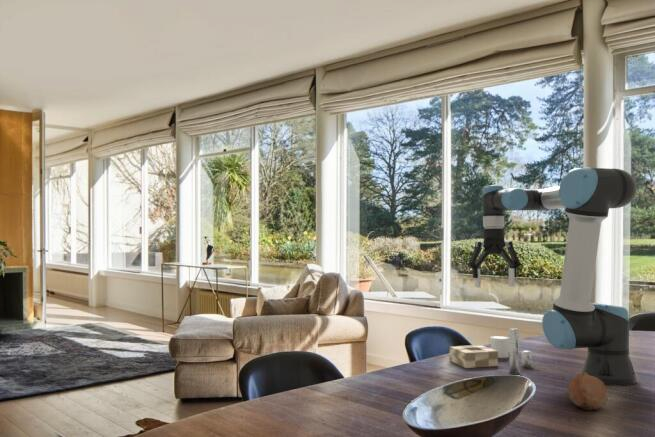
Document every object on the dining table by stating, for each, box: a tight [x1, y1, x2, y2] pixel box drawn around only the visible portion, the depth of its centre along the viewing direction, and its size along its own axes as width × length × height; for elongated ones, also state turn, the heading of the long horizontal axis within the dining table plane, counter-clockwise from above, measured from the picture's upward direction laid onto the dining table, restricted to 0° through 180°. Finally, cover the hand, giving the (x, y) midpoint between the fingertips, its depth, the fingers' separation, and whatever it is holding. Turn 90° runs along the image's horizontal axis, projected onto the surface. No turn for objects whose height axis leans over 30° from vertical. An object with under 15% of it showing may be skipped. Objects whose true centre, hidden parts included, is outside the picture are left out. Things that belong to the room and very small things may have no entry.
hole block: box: [449, 344, 499, 369], centre depth 214 cm, size 12×12×5 cm
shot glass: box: [489, 335, 509, 359], centre depth 226 cm, size 7×7×7 cm
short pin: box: [520, 350, 532, 368], centre depth 209 cm, size 3×3×5 cm
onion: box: [567, 371, 609, 412], centre depth 160 cm, size 10×9×10 cm
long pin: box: [508, 327, 520, 374], centre depth 200 cm, size 3×3×14 cm
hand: (494, 286), depth 224 cm, fingers open, 13 cm apart
